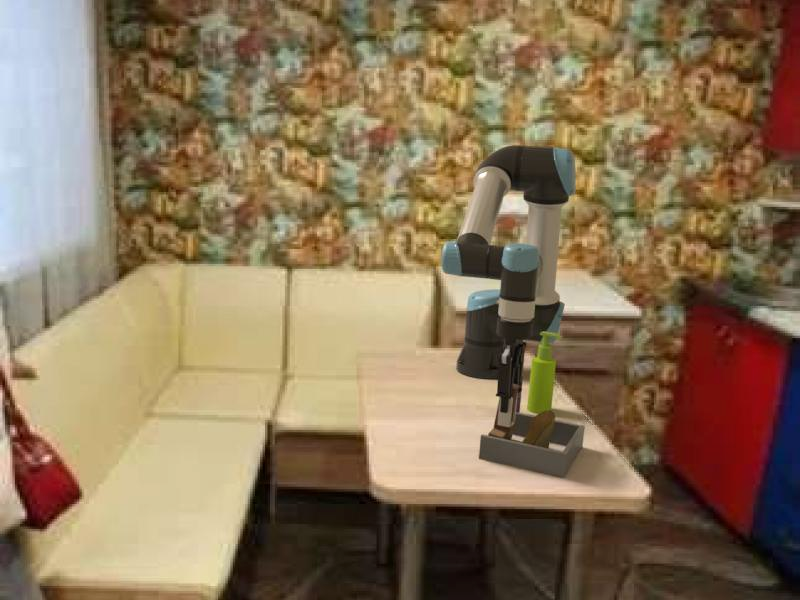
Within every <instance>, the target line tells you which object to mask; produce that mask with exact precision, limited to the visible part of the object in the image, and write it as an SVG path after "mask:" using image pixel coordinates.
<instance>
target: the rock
mask: <svg viewBox="0 0 800 600" xmlns="http://www.w3.org/2000/svg"><path fill="white" fill-rule="evenodd" d="M534 416H535V417H534V418H532V419H531V421H530V427H529V429H528V432H527V436H526V437H524V438H523V440H522V442H521V443H525V444H529V445H534V446H539V447H543V448H548V449H550V443H551V442H550V436H551V434H552V430H553V427H554V423H555V420H556V414H555V412H553V410H552V409H551V410H550V411H543V412H541V413H540V414H536V415H534Z"/></svg>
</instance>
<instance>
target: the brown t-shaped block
mask: <svg viewBox="0 0 800 600" xmlns="http://www.w3.org/2000/svg"><path fill="white" fill-rule="evenodd" d="M518 389H519V385H517V384H513V389H512V398H513V404H512V415H511V426H510V427H505V426H500V425H497V424H498V412H499V402H498V404H497V408H496V414H495V419H494V424H493V428H492V429H491V430H490V431H489V432H488V434H487V435H488V436H492V437H497V438H502V439H506V440H511V441H512V440H513V439H512V438H513V436H514V434H513V430H514V425H515V422H512V418H513V413H514V408H515V403H516V399H517V394H518ZM499 400H500V397H499V399H498V401H499Z"/></svg>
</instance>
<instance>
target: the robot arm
mask: <svg viewBox="0 0 800 600" xmlns="http://www.w3.org/2000/svg"><path fill="white" fill-rule="evenodd" d="M575 161H576V159H575V156H574V153H573V150H571V149H569V148H562V147H557V146H538V145H519V144H518V145H517V144H512V145H507V146H504V147H501V148H499V149H497V150H495V151H494V152H492V153H490V154H489V155H488V156H487V157H486V158H485V159H483V160H482V162H481V163H480V164H479V166H478V167H477V169H476V171H475V173H474V176H473V180H472V182H473V183H472V184H473V192H472V194H471V198H470V201H469V204H468V207H467V209H466V213H465V216H464V218H463V221H462V224H461V227H460V231H459V234H458V236H457V239H456V240H453V241H446V242H445V243H444V245H443V247H442V252H441V259H440V261H441V263H440V264H441V270H442V272H443V273H445V274H446V275H451V276H456V277H464V278H465V277H466V278H478V279H489V280H495V281H497V280H498V281H500V288H498V289H482V290H478V291H475V292H472V293H470V294H469V296H468V298H467V304H466V305H467V306H466V308H465V310H466V317H465V329H464V330H465V331H464V341H463V345H462V348H461V350H460V352H459V355H458V357H457V359H456V366H455V367H456V370H457V372H459V373H460V374H463V375H464V376H468V377H472V378H478V379H488V380H489V379H497V390H496V394H495V397H499V398H500V400H499V399H498V403H499V412H498V424H497V425H500V426H505V427H510V426H511V415H512V404H513V398H512V389H513V384H517V385H519V386H521V381H522V372H523V373H524V368H523V363H525V352H526V347H527V342H535V343H538V344H542V339H543V335H540V333H541V332H543V331H544V332H552V333H556V334H559V331H560V326H561V324H562V323H561V322H562V318H563V314H564V310H565V307H566V306H565V303H564V302H563V301H561V299H560V298H561V296H560V294H559V293H558V292H557V290H556V281H557V270H558V269H557V267H558V257H559V256H558V255H559V246H560V234H561V222H562V212H563V207H564V206H565V205H566V204H567V203H569V200H570V197H572V196H574V195H575V193H576V178H577V177H576V162H575ZM510 191H514V192H521V193H522V192H523V197H522V198H523V201H524V202H525V203H526V204H527V206H528V207H527V208H528V210H527V223H526V225H527V227H526V239H525V243H509V244H507V245H504V246H503V245H493V244H491V243H492V240H493V236H494V232H495V228H496V225H497V222H498V217H499V214H500V210H501V208H502V203H503V199H504V198H505V197H506V196H507V195H508V194H509V192H510ZM556 340H558V339H557V338H554V337H550V340H549V344H553V343H555V341H556ZM526 341H527V342H526ZM522 382H523V381H522ZM518 392H521V393H522V392H523V387H522V388H519V389H518ZM517 396H518V394H517ZM516 407H517V399H516V403H515V408H514V413H513V418H512V422H515V418H516Z"/></svg>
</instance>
